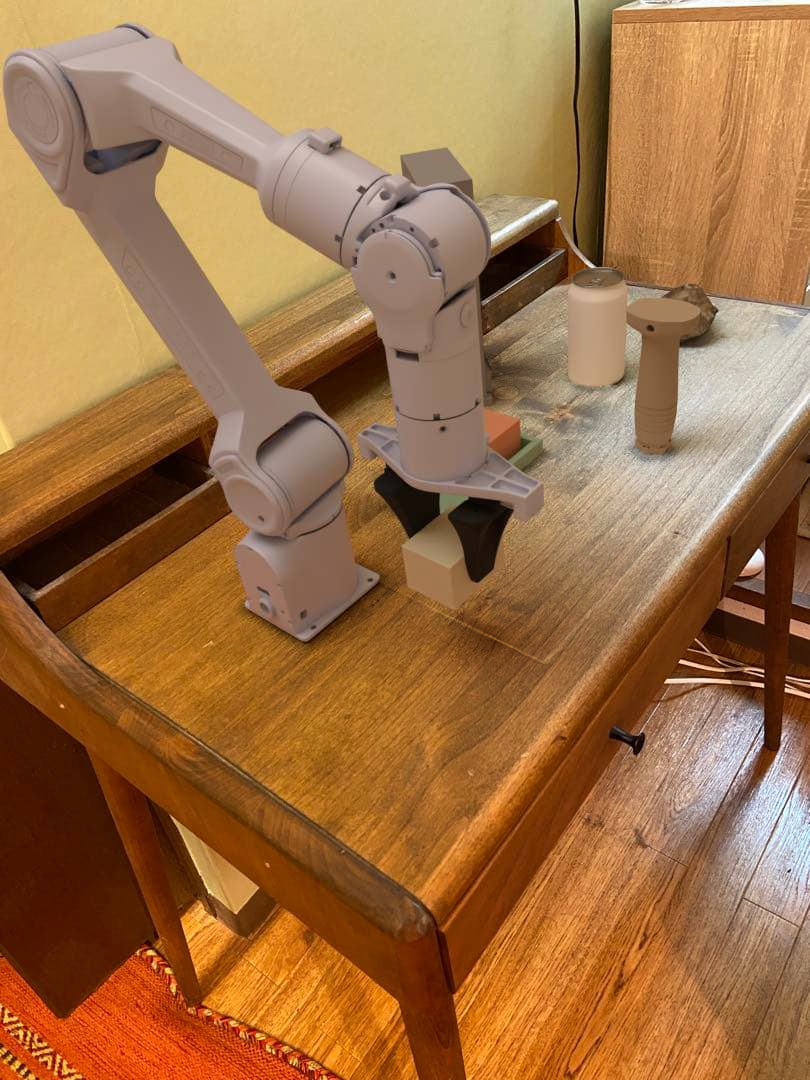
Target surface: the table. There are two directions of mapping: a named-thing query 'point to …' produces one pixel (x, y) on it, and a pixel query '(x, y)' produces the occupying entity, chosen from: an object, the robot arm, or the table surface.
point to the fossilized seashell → (699, 299)
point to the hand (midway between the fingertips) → (455, 561)
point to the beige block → (442, 563)
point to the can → (597, 326)
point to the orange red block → (503, 433)
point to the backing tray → (528, 453)
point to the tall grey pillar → (448, 170)
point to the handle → (658, 367)
